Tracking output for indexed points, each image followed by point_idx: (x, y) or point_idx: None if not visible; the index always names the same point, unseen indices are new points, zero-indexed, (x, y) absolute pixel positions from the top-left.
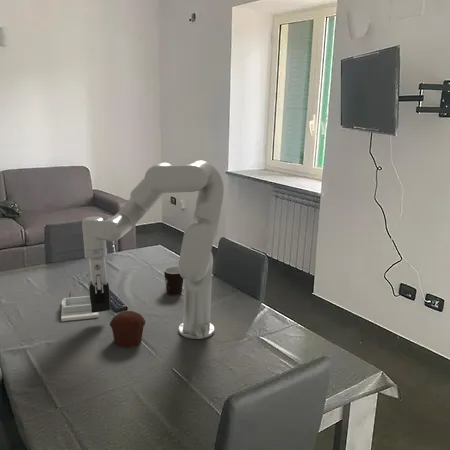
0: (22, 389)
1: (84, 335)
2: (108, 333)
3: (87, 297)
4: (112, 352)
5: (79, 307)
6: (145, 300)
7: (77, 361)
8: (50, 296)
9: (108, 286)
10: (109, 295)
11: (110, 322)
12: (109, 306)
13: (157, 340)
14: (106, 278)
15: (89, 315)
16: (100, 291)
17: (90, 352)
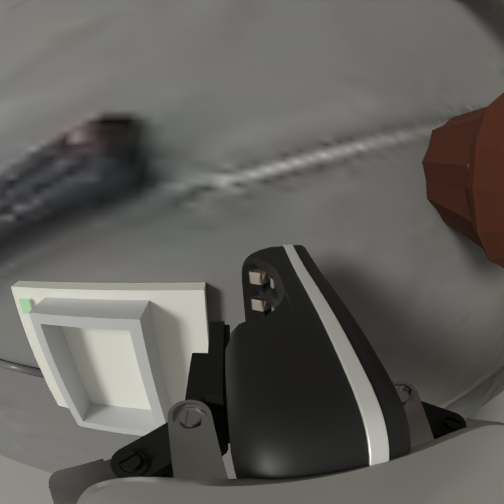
0: (486, 397)
1: (367, 335)
2: (390, 242)
3: (50, 344)
4: None
5: (158, 385)
6: (57, 33)
7: (481, 331)
8: (26, 411)
9: (389, 378)
10: (339, 299)
11: (497, 263)
12: (311, 259)
13: (473, 71)
14: (497, 487)
15: (207, 332)
16: (432, 416)
17: (468, 304)
